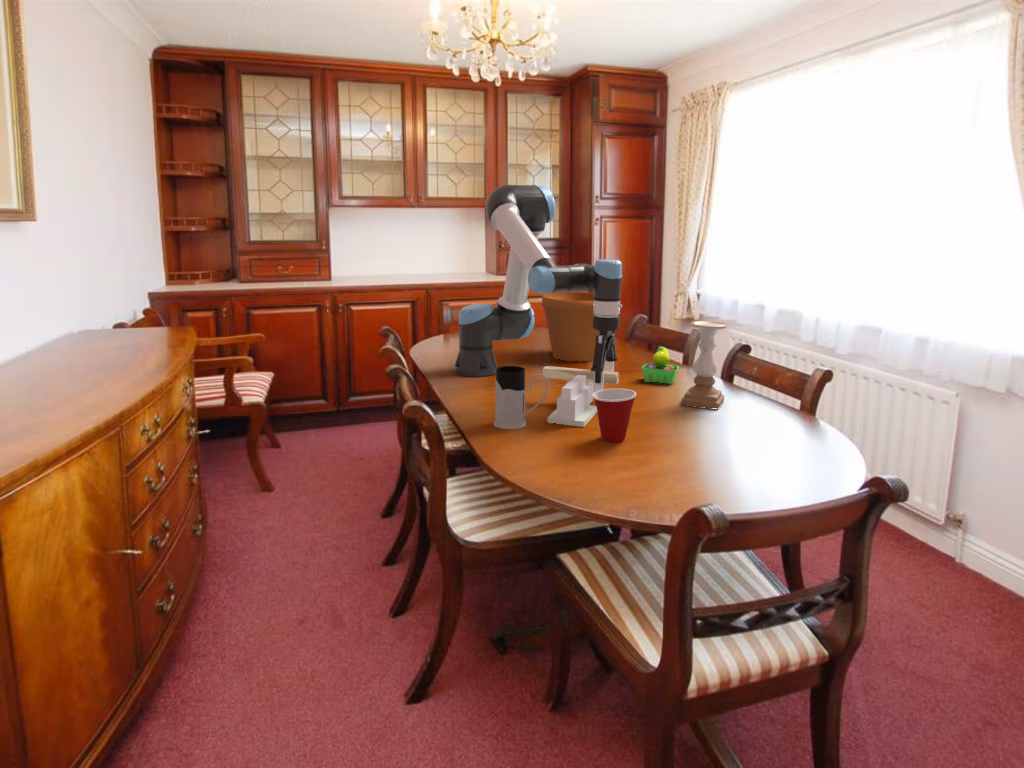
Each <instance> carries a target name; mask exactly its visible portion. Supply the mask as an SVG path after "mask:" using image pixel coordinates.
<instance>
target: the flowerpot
mask: <svg viewBox="0 0 1024 768" xmlns="http://www.w3.org/2000/svg"><path fill="white" fill-rule="evenodd" d="M541 298H542V299H541V307H542V308H543V310H544V315H545V321H546V326H547V332H548V335H549V336H548V337H549V342H550V346H551V353H552V357H553V358H554V359H555V360H558V359H560V360H559V361H563V360H565V361H564V362H571V361H577V362H576V363H580V362H581V363H583V362H582V361H589V362H593V359H594V352H595V345H596V336H597V335H598V336H599V333H600V331H599V330H595V329H594V328H593V317H594V316H595V314H593V303H594V292H588V291H574V292H557V293H547V294H544V293H543V294H542V295H541Z"/></svg>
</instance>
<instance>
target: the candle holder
mask: <svg viewBox="0 0 1024 768" xmlns="http://www.w3.org/2000/svg"><path fill="white" fill-rule="evenodd" d="M690 327H691V328H693V329H694V328H695V329H697V330H698V332H699V334H700V338H701V339H700V342H698V343H697V346H698V347H699V351H700V354H699V356H698V357H697V359H696V360H695V361H694V363H693V365H692V368H691V369H692V372H693V373H694V374H695V375H696V376H695V377H694V378H693V383H694V384H695V385H693V386H691V387H689V388H688V389H687V390H686V392H685V393H684V395H683V396H682V398H681V400H680V406H682V405H688V406H687V407H690V406H696V407H695V408H698V407H705V408H704V409H706V408H717V409H718V408H719V407H720V406H721V407H722V405H723V404H724V402H725V395H724V394H722V393H723V392H722V390H721V389H720V390H719V389H717V388H715V386H714V385H715V383H716V379H715V378H714V376H715V375H717V374H718V372H719V366H718V363H717V361H716V360H715V357H714V355H713V352H714V350H715V348H716V347H717V344H716V342H715V336H716V335H717V333H718V332H719V331H720V330H725V329H727V327H728V324H727V323H724V322H720V321H713V320H696V321H695V320H694V321H691V323H690ZM723 401H724V402H723ZM722 403H723V404H722ZM721 404H722V405H721ZM721 407H720V408H721Z"/></svg>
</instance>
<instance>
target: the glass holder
mask: <svg viewBox="0 0 1024 768" xmlns="http://www.w3.org/2000/svg"><path fill="white" fill-rule="evenodd" d="M539 376H542V378H543V377H545V378H544V379H545V380H546V386H545V387H546V389H545V392H544V394H543V397H542V398H541V400H540V401H538V403H536V404H535V405H534V406H532V407H531V408H530V409H529V410H528V411H527V412H526V391H530V390H532V388H533V382H534V379H535V378H536V377H539ZM530 381H531V382H530V387H529V388H526V385H525V383H526V368H524V367H522V366H517V365H504V366H499V367H498V368H496V374H495V384H494V385H495V393H494V394H495V399H494V400H495V408H494V409H495V410H494V411H495V414H494V415H495V416H494V417H495V419H494V422H493V426H494V427H496V428H498V429H503V430H519V429H522V427H523V428H525V427H527V425H526V424H527V422H526V418H527V415H528V414H529V413H531V412H532V411H533V410H535V408H537V407H538V406H539V405H540V404H541V403H542V402H543V401H544V399H545V398H546V395H547V393H548V388H549V379H548V378H546V376H544V375H543V373H537V374H535V375H533V376H532V378H531V380H530ZM524 426H525V427H524ZM518 428H519V429H518Z"/></svg>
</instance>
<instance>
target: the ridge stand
mask: <svg viewBox="0 0 1024 768" xmlns="http://www.w3.org/2000/svg"><path fill="white" fill-rule="evenodd" d="M567 382H568V381H567ZM596 414H598V412H597V407H596V405H591V403H590V386H586V376H585V375H577V376H576V377H574V378H573V379H572V380H571V381H570V382H568V383H567V384H564V386H563V387H561V394H560V395H559V396H558V397H557V398H556V409H555V410H554V411H553V412H552V413H550V414H549V415H548V416H547V421H546V423H547V422H548V424H553V423H556V425H562V424H563V426H571V427H581V428H584V427H586V425H587V424H588V423H589V422H590V421H591V419H593V417H594V416H595V415H596Z"/></svg>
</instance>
